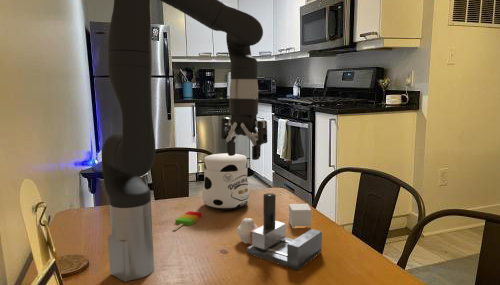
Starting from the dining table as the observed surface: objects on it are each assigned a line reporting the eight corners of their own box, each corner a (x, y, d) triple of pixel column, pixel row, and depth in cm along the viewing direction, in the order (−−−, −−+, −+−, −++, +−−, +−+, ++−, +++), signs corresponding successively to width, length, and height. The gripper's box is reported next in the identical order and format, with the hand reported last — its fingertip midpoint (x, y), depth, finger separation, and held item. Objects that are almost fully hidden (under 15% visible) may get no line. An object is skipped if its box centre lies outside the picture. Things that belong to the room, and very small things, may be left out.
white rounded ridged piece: (246, 235, 113) (246, 212, 111) (263, 240, 109) (263, 217, 108) (232, 242, 108) (232, 218, 107) (249, 248, 104) (249, 223, 103)
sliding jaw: (264, 249, 98) (264, 201, 96) (250, 245, 101) (250, 197, 99) (285, 237, 106) (286, 192, 104) (272, 233, 109) (272, 189, 107)
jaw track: (297, 270, 91) (298, 247, 90) (247, 253, 101) (247, 231, 100) (321, 253, 101) (321, 231, 100) (273, 238, 110) (273, 218, 109)
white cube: (307, 221, 124) (307, 203, 123) (310, 228, 118) (311, 209, 117) (288, 221, 124) (289, 203, 123) (291, 228, 118) (291, 210, 117)
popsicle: (203, 217, 129) (203, 212, 129) (181, 234, 115) (181, 228, 115) (188, 215, 131) (188, 210, 130) (165, 232, 117) (165, 226, 116)
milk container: (249, 213, 131) (249, 162, 128) (199, 213, 131) (197, 162, 128) (250, 198, 148) (250, 152, 145) (205, 198, 148) (204, 152, 145)
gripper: (214, 96, 102) (214, 156, 104) (256, 97, 93) (255, 163, 96) (233, 96, 108) (233, 152, 110) (274, 97, 99) (272, 158, 101)
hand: (243, 157), depth 103 cm, fingers open, 8 cm apart
